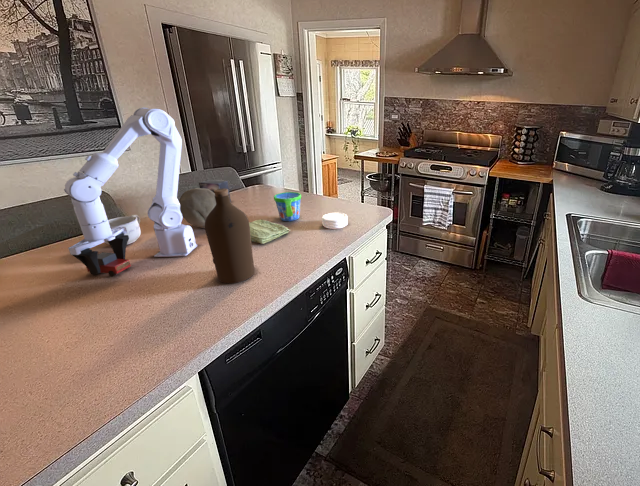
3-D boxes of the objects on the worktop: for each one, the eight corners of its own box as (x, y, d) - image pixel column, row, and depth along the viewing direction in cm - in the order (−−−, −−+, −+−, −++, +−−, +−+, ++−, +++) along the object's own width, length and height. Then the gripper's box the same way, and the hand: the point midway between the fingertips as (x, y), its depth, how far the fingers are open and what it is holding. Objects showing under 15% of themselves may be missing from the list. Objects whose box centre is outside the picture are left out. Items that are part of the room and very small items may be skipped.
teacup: (120, 251, 105) (113, 228, 102) (93, 247, 107) (85, 225, 104) (158, 234, 118) (153, 213, 115) (134, 231, 120) (128, 211, 117)
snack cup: (279, 213, 141) (276, 190, 137) (304, 211, 143) (302, 189, 139) (274, 226, 126) (270, 201, 123) (302, 224, 129) (299, 200, 125)
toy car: (88, 274, 91) (82, 258, 89) (104, 266, 95) (98, 251, 94) (117, 277, 90) (112, 260, 88) (132, 268, 95) (127, 252, 93)
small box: (202, 204, 150) (197, 182, 147) (211, 200, 156) (207, 178, 153) (222, 205, 149) (218, 183, 145) (231, 201, 155) (228, 180, 151)
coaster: (336, 231, 123) (335, 222, 122) (317, 225, 128) (316, 217, 126) (353, 223, 131) (352, 215, 130) (334, 218, 136) (334, 210, 134)
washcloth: (262, 246, 110) (261, 237, 108) (230, 235, 118) (228, 227, 117) (292, 233, 120) (291, 225, 119) (261, 224, 128) (260, 216, 127)
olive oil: (265, 270, 95) (252, 187, 86) (235, 288, 86) (218, 197, 77) (237, 263, 99) (222, 183, 90) (206, 280, 89) (186, 192, 80)
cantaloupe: (232, 221, 131) (226, 185, 126) (207, 234, 118) (199, 195, 113) (201, 218, 133) (194, 183, 128) (173, 231, 120) (163, 192, 115)
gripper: (79, 233, 80) (97, 280, 85) (131, 213, 94) (143, 255, 99) (54, 231, 81) (73, 278, 86) (108, 212, 94) (122, 254, 99)
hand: (109, 266), depth 92 cm, fingers open, 7 cm apart
